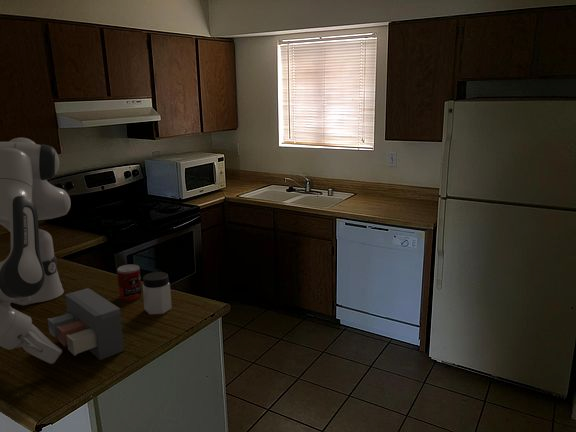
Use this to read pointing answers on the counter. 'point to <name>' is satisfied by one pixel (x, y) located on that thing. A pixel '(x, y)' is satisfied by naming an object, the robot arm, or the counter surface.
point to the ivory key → (81, 341)
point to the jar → (156, 293)
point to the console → (98, 320)
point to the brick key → (69, 330)
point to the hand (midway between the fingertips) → (58, 351)
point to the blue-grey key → (59, 322)
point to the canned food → (129, 282)
